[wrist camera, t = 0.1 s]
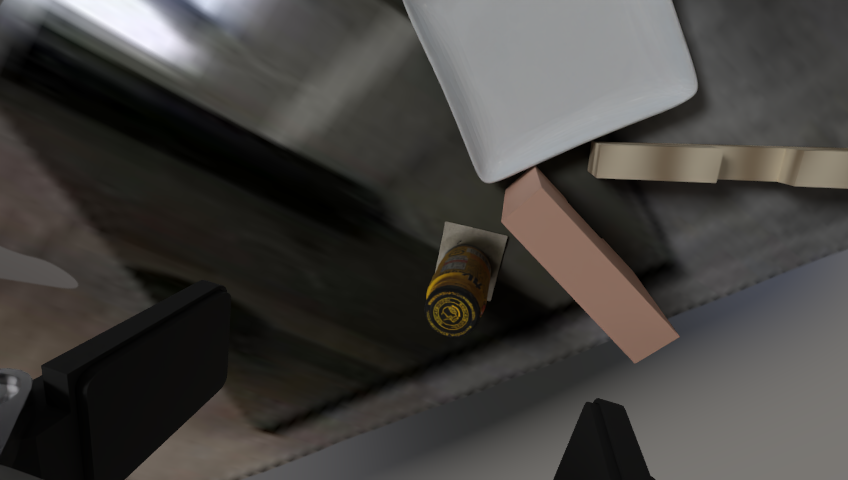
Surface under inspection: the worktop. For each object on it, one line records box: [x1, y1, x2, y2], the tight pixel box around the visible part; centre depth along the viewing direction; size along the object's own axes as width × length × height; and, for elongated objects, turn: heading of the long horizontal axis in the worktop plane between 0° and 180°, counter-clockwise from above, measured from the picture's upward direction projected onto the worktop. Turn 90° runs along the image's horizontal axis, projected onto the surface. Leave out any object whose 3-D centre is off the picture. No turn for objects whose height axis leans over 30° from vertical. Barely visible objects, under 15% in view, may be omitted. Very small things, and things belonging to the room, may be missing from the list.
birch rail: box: [588, 141, 848, 189], centre depth 37 cm, size 26×3×5 cm, turn 90°
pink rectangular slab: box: [501, 165, 680, 363], centre depth 38 cm, size 16×4×14 cm, turn 45°
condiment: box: [425, 222, 508, 337], centre depth 43 cm, size 7×8×12 cm
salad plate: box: [403, 0, 698, 183], centre depth 39 cm, size 21×21×3 cm
